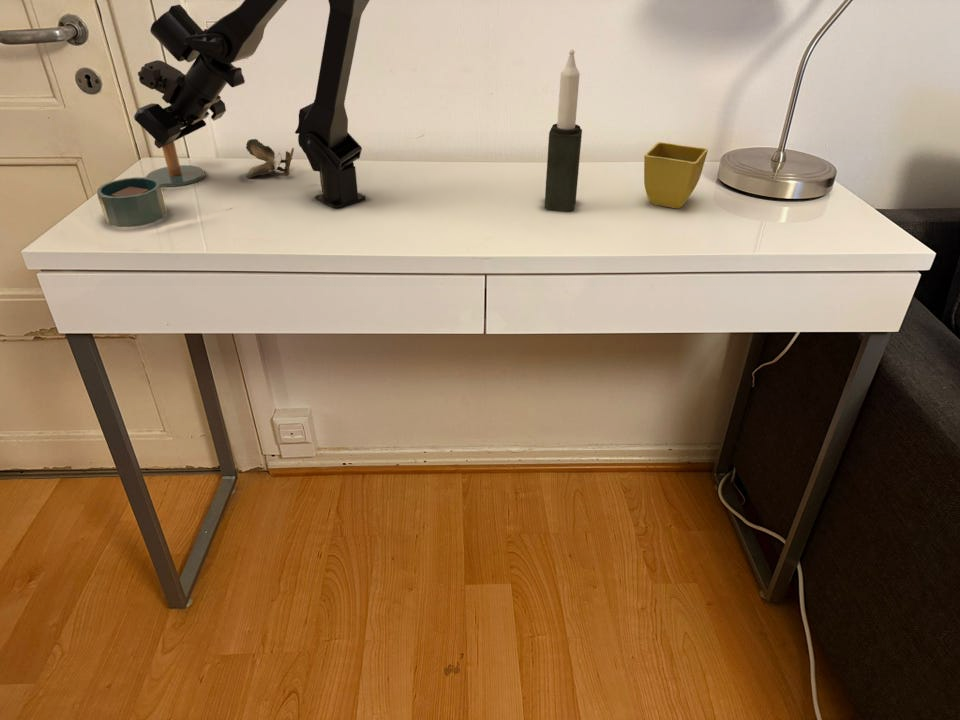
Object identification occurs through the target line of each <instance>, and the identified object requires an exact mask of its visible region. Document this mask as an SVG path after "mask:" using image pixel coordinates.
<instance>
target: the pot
mask: <svg viewBox="0 0 960 720" xmlns="http://www.w3.org/2000/svg"><path fill="white" fill-rule="evenodd" d="M127 187H136V188H142V189H148V190H149V191H147V192H145V193H141V194H137V195H132V196H124V197H118V196H111V195H112V194H114V193H116V192H118V191H121V190H123V189H125V188H127ZM96 195H97V198H98V201H99V204H100V209H101V211H102V214H103V217H104V221H105V222H106V223H107V224H108V225H110V226H113V227H119V228H124V227H125V228H127V227H128V228H131V227H132V228H133V227H140V226H146V225H149V224H153V223H156V222H158V221H159V220H162V219H164V217H166V216H167V215H168V209H167V204H166V201H165V196H164V193H163V188H162V187H161V184H160V182H159V181H157V180H156V179H152V178H146V177H144V176H143V177H140V176H139V177H129V178H128V177H127V178H121V179H116V180H112V181H109V182H106V183H104V184H102V185H101V186H100V187H97V191H96Z"/></svg>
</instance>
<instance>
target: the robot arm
mask: <svg viewBox="0 0 960 720" xmlns="http://www.w3.org/2000/svg"><path fill="white" fill-rule="evenodd" d="M287 2H288V0H243V2H242V3H241V4H240V5H239V6H238V7H236V9H234V10H232V11H231V12H229V13H227V14H226V15H224V16H222V17H221V18H219V19H218V20H216V22H214V23H213V24H212V25H211V26H209V27H208V28H207V29H204V30H203V29H202V28H201V27H200V25H198V23H197V22H196V21H195V20H194V19H193V18H192V17H191V16H190V15H189V14H188V12H187V10H186V9H185V8H184V7H183V6H182V5H181V4H175V5H171V6H170V7H169V9H168V10H167V11H165V12H164V13H163V14H162V15H160V16H159V17H158V18H157V19H156V20H154V21H153V22H152V24H151V26H150V34H151V35H152V36H153V37H154V38H155V39H156V40H157V41H158V42H159V43H160V44H161V45H162V46H163V48H165V49H166V51H167V52H168V53H169V54H170V55H171V56H172V57H173V58H174V59H175V60H176V61H177V62H184V61H185V62H187V63H192V62H193V63H192V64H191V66H190V67H189V68H188V70H187V72H186V73H183V72H182V71H181V70H179V69H177V68H176V67H174V66H172V65H171V64H168V63H167V62H165V61H163V60H159V59H158V60H153V61H150V62H146V63H144V65H143V66H141V67H140V71H138V72H137V75H138V80H139V83H140V84H141V85H143V86H145V87H146V88H148V89H150V90H155V91H157V92H158V93H160V94H163V95H162V96H161V99H162V100H163V102H165V103H166V104H169V106H166V107H162V106H161V105H160V103H152V102H151V103H149V104H145V105H144V106H141V107H138V109H137V110H136V112H135V113H134V115H133V118H134V121H135V122H136V123H138V125H139V126H140V127H142V128H143V129H144V130H145V131H146V132H147V133H148V134H149V135H150V136H151V137H152V138H153V139H154V143H153V144H154V146H156V148H157V149H162V147H164V146H165V145H167V144H169V143H171V142H173V141H174V142H176V141H178V140H179V139H182V138H184V137H186V136H188V135H190V134H193V133H194V132H196V131H198V130H200V129H202V128H204V127H206V126H207V123H206V121H205V120H204V119H207V118H208V117H209V115H210V112H211V113H212V114H211V116H210V119H211V120H212V121H213V122H214V121H217V120H218V119H221V118H222V117H223V115H224V114H225V113H226V112H227V108H226V104H225V102H224V101H223V100H222V97H221V96H220V94H221V92H222V91H223V90H224V88H225V87H226V86H227V84H228V86H229V87H231V88H236V87H239V86H241V85H244V84H245V83H246V80H245V78H244V77H245V76H244V75H243V68H241V67H237V66H234V64H233V63H235V62H238V61H241V60H244V59H248V58H250V57H252V56H253V55H254V54H255V53H256V51H257V49H258V48H259V46H260V44H261V42H262V40H263V39H264V34H265V29H266V27H267V25H268V23H270V21H271V20H272V19H273V18H274V17H275V16H276V14H277V13H278V12H279V11H280V10H281V8H282V7H283V6H284V5H285V4H286V3H287ZM327 2H328V4H329V13H328V19H327V23H326V24H327V25H326V30H325V37H324V42H323V49H322V54H321V60H320V67H319V73H318V79H317V84H316V92H315V96H314V100H313V102H311V103H309V104H308V105H306V106H304V107H301V108H300V109H299V111H298V112H299V113H298V125H297V128H296V130H295V131H294V133H295V135H298V136H297V142H298V146H299V147H300V148H301V150H302V151H303V153H304V154H305V156H306V158H307V160H308V163H309V165H310V167H311V169H312V171H313V172H319V179H320V187H321V193H320V194H316V195H314V198H315V200H317V201H319V202H321V203H323V204H325V205H327V206H329V207H332V208H334V209H339V208H343V207H346V206H349V205H352V204H356V203H359V202H362V201H365V200H366V198H367V197H366V196H365V195H364V194H361V193H359V192H358V191H359V190H358V183H357V171H356V170H357V169H356V166H355V163H354V162H355V161H357V160H359V159H360V158H361V155H362V150H363V147H362V146H361V145H360V144H359V142H357V140H356V139H355V138H354V137H353V136H352V135H351V134H350V133H349V132H348V130H349V129H348V127H349V126H348V125H349V118H348V114H347V110H346V107H345V103H346V96H347V91H348V86H349V80H350V75H351V70H352V65H353V60H354V55H355V49H356V44H357V40H358V34H359V29H360V24H361V19H362V16H363V13H364V11H365V9H366V8H367V6H368V4H369V3H370V0H328V1H327ZM209 111H210V112H209Z"/></svg>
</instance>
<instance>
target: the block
mask: <svg viewBox="0 0 960 720" xmlns="http://www.w3.org/2000/svg"><path fill="white" fill-rule="evenodd" d="M147 191H149V190H148V189H142V188H136V187H127V188H125V189H123V190H121V191H118V192H116V193H114V194H112V195H111V196H118V197H124V196H132V195H137V194H141V193H145V192H147Z"/></svg>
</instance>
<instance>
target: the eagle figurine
mask: <svg viewBox="0 0 960 720" xmlns="http://www.w3.org/2000/svg"><path fill="white" fill-rule="evenodd" d="M245 149H246V150H247V153H248V152H249V154H250V155H251V156H254V157H255V158H256V159H258V160H260V161H263V162H264V163H262V164H257V165H255V166H253V167H251V168H250V169H249V171H248V172H247V173H246V174H245V178H246V179H251V178H254V177H256V176H259V175H260V176H264V175H266V174H268V173H270V172H275V170H276V171H279V172H282V173H284V174H285V176H290V169H291V168H290V167H291V163H292V159H293V156H294V151H295V148H294V147H292V148H291V150H290V152H289V151H288V150H285V158H284V159H283V155H282V153H281V152H278V153H277V155H275V151H274V150H273V149H272V148H271V147H270V145H264V143H262V142H260V141H259V140H258V139H256V138H251V139H248V141H247V142H246V144H245ZM281 164H284V168H283V167H282V166H280V165H281Z"/></svg>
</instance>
